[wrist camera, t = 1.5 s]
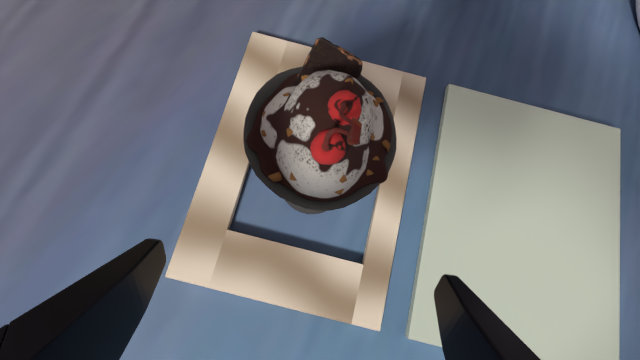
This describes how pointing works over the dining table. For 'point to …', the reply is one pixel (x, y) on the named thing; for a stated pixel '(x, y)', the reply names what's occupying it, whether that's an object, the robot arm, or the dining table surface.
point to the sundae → (320, 132)
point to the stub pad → (524, 224)
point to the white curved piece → (638, 11)
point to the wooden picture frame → (276, 258)
